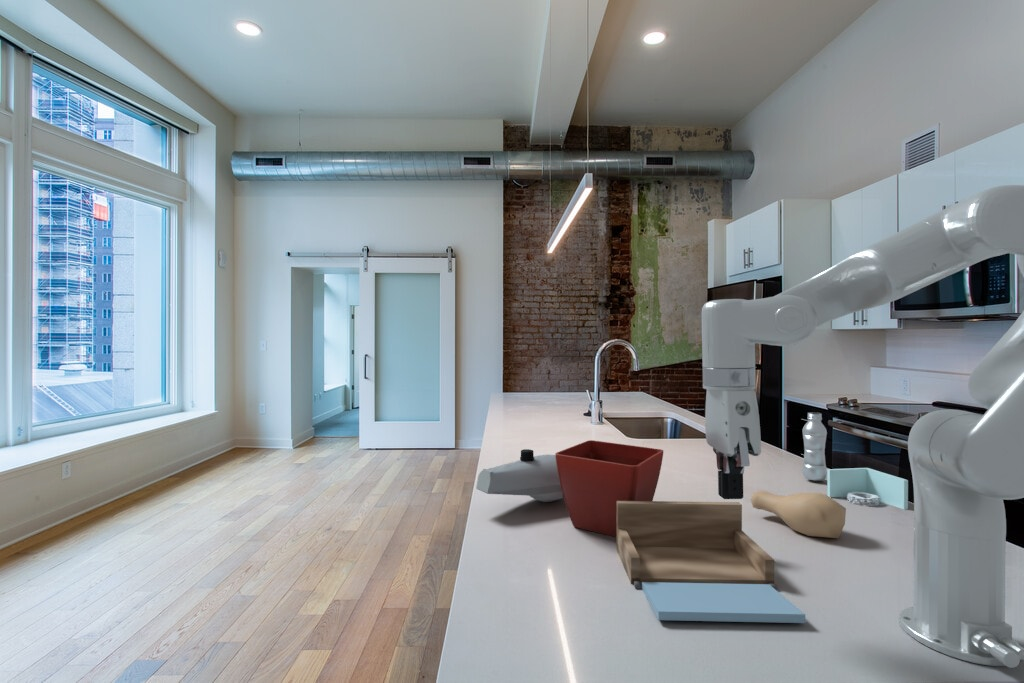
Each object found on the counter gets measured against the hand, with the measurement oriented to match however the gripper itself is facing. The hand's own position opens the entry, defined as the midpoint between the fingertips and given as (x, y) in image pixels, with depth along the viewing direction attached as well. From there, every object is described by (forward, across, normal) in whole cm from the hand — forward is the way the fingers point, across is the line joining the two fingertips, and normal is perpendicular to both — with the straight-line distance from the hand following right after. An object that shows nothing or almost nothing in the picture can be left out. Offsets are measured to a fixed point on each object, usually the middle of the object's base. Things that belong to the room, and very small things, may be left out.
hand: (730, 497), depth 78 cm
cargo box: (+18, +14, +2) cm, 23 cm away
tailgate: (+17, +6, +2) cm, 18 cm away
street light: (+17, +50, +30) cm, 61 cm away
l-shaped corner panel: (+19, +52, -56) cm, 79 cm away
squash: (+18, +35, -29) cm, 49 cm away
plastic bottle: (+19, +73, -55) cm, 94 cm away
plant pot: (+18, +36, +12) cm, 42 cm away
